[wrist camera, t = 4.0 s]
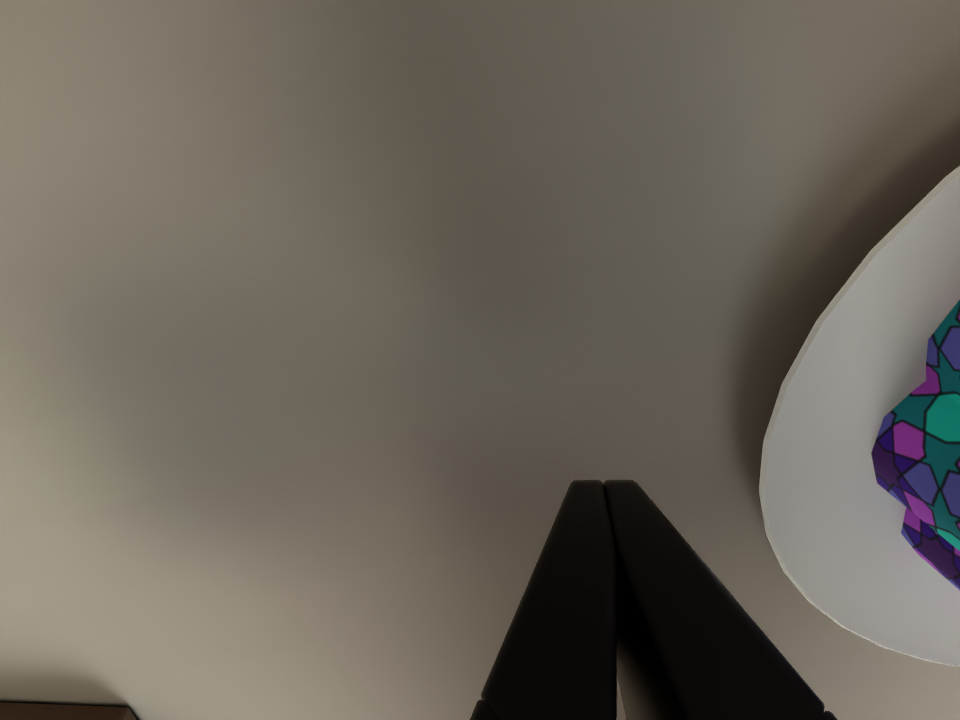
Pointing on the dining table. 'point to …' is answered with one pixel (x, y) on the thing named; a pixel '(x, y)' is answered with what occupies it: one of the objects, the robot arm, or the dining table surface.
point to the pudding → (878, 444)
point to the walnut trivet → (62, 712)
